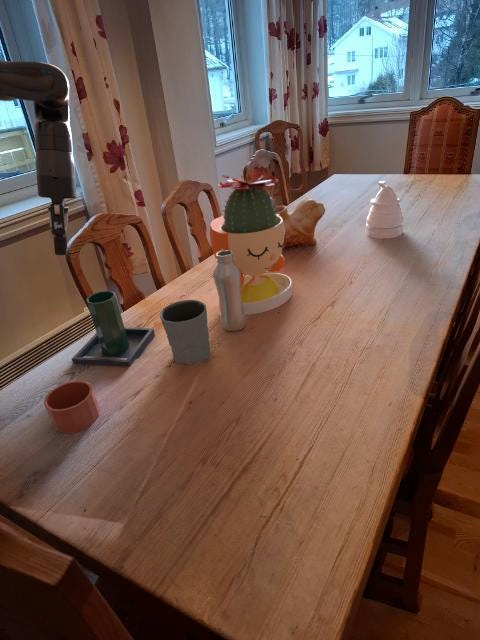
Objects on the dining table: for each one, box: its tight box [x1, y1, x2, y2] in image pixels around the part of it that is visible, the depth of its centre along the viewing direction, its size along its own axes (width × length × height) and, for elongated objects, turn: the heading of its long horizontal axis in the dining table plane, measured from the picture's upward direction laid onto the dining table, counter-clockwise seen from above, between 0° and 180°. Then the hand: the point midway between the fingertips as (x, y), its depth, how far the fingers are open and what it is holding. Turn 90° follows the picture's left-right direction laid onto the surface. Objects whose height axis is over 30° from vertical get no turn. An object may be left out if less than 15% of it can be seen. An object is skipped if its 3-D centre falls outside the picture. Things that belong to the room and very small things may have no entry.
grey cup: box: [159, 299, 212, 365], centre depth 96 cm, size 10×10×12 cm
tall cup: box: [85, 290, 129, 356], centre depth 101 cm, size 6×7×14 cm
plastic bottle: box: [212, 251, 247, 332], centre depth 104 cm, size 6×7×20 cm
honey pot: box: [365, 180, 405, 239], centre depth 153 cm, size 13×13×18 cm
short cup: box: [43, 380, 101, 434], centre depth 82 cm, size 9×9×6 cm
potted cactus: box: [209, 165, 293, 315], centre depth 115 cm, size 22×22×35 cm
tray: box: [71, 327, 156, 368], centre depth 105 cm, size 15×15×2 cm
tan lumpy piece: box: [275, 197, 326, 251], centre depth 154 cm, size 14×26×15 cm, turn 103°
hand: (61, 252), depth 94 cm, fingers open, 8 cm apart
